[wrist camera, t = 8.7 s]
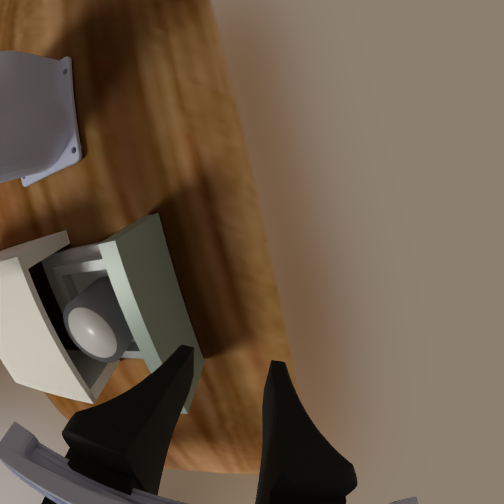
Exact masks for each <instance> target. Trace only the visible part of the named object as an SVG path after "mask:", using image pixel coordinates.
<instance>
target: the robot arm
mask: <svg viewBox="0 0 504 504" xmlns="http://www.w3.org/2000/svg"><path fill="white" fill-rule="evenodd" d="M66 71H67V73H66ZM75 148H76V152H75V151H74V149H75ZM81 159H82V151H81V145H80V139H79V133H78V126H77V119H76V111H75V102H74V91H73V79H72V60H71V58H70V57H68V56H66V57H64V58H63V59H61V60H60V61H59V60H56V59H52V58H47V57H43V56H39V55H34V54H29V53H24V52H19V51H1V52H0V183H3V182H6V181H10V180H14V179H18V178H21V180H22V184H23V186H24V187H27V186H29V185H31V184H33V183H35V182H37V181H39V180H41V179H43V178H45V177H47V176H49V175H51V174H53V173H55V172H57V171H59V170H62V169H64V168H66V167H68V166H70V165H73V164H75V163H77V162H79V161H80V160H81ZM193 376H194V347H191V346H186V345H180V346H179V347H178V348H177V349H176V351H175V352H174V353H173V354H172V355H171V356H170V357H169V358H168V359H167V360H166V361H165V362H164V363H163V364H162V365H161V366H159V367H158V368H157V369H156V370H155V371H154V372H153V373H151V374H150V375H149V376H148V377H146V378H145V379H144V380H143V381H141V382H140V383H139V384H137V385H136V386H134V387H133V388H131V389H130V390H128V391H126V392H125V393H123V394H121V395H119V396H117V397H115V398H113V399H111V400H109V401H107V402H105V403H102V404H100V405H97V406H95V407H92V408H89V409H85V410H82V411H78V412H76V413H75V414H74V415H73V416H72V417H71V419H70V420H69V422H68V423H67V425H66V427H65V428H64V430H63V431H62V436H63V438H64V440H65V441H66V443H67V444H68V446H69V447H70V448H71V450H72V451H73V454H72V456H71V457H70V459H67V458H65V457H63V456H61V455H60V454H58V453H56V452H54V451H53V450H51V449H49V448H47V447H46V446H44V445H42V444H41V443H39V441H38V440H37V438H36V437H35V436H34V435H33V434H32V433H31V432H29V431H28V430H27V429H25V428H24V427H22V426H21V425H19V424H18V423H16V422H14V423H13V424H12V426H11V427H10V429H9V430H8V432H7V433H6V434H5V436H4V437H3V439H2V440H1V442H0V461H1V462H2V463H3V464H4V465H5V466H6V467H7V468H8V469H9V470H10V471H12V472H13V473H14V474H15V475H16V476H17V477H19V478H20V479H21V480H23V481H24V482H25V483H27V484H28V485H30V486H31V487H32V488H34V489H35V490H37V491H38V492H40V493H41V494H43V495H44V496H46V497H47V498H49V499H50V500H52V501H54V502H55V503H57V504H187V503H182V502H179V501H174V500H171V499H167V498H163V497H160V496H157V495H158V490H159V485H160V480H161V476H162V471H163V467H164V463H165V459H166V455H167V451H168V448H169V444H170V440H171V437H172V433H173V431H174V428H175V425H176V423H177V421H178V418H179V416H180V413H181V411H182V409H183V406H184V404H185V401H186V399H187V397H188V394H189V391H190V388H191V384H192V380H193ZM262 415H263V446H262V458H261V466H260V474H259V482H258V489H257V495H256V502H255V504H346V496H347V495H348V494H349V493H350V492H351V491H352V490H354V489H355V487H356V486H357V477H356V473H355V470H354V467H353V465H352V464H351V463H350V462H349V461H348V460H346V459H345V458H344V457H343V456H342V455H341V454H339V453H338V452H337V451H336V450H335V449H334V448H333V447H332V446H331V445H330V443H329V442H328V441H327V440H326V439H325V438H324V436H323V435H322V434H321V433H320V432H319V430H318V429H317V428H316V426H315V425H314V424H313V422H312V420H311V419H310V417H309V416H308V414H307V413H306V411H305V409H304V407H303V405H302V404H301V402H300V400H299V398H298V395H297V393H296V391H295V389H294V387H293V384H292V382H291V379H290V376H289V373H288V370H287V367H286V363H285V362H281V361H273V360H271V364H270V368H269V372H268V376H267V380H266V384H265V388H264V396H263V406H262ZM390 504H418V503H417V498H416V497H411V498H407V499H403V500H398V501H395V502H392V503H390Z"/></svg>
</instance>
